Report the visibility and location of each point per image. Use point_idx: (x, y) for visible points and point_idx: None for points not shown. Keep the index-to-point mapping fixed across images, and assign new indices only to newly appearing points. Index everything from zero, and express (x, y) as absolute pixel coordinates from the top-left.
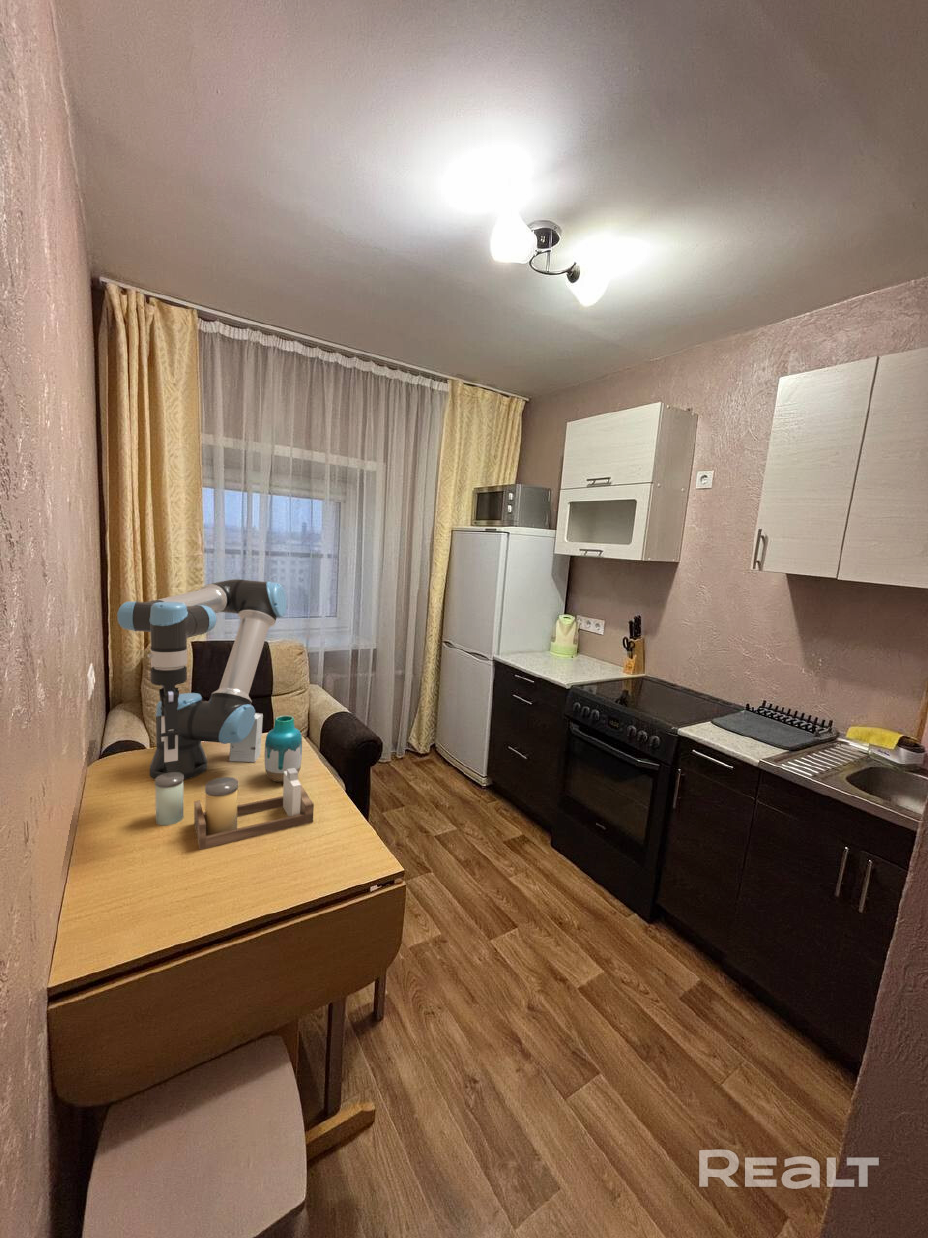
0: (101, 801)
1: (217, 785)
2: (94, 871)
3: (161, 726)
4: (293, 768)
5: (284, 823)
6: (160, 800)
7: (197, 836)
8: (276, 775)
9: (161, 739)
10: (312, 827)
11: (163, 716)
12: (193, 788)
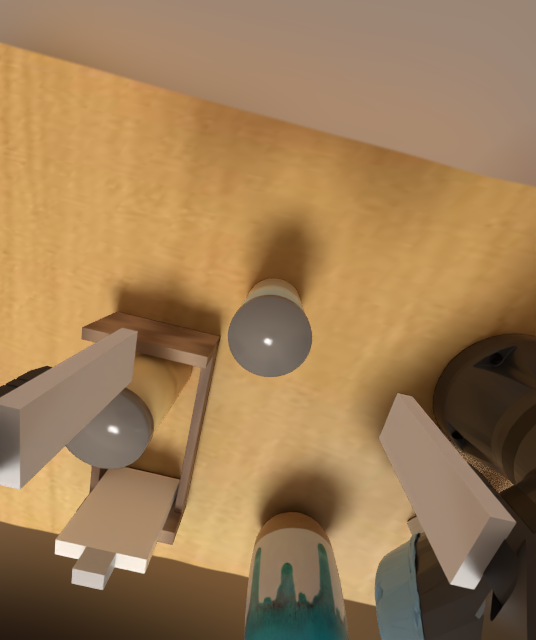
0: (473, 204)
1: (99, 419)
2: (152, 123)
3: (441, 452)
4: (99, 586)
5: None
6: (253, 293)
7: (157, 323)
8: (267, 528)
9: (404, 399)
10: (84, 480)
11: (497, 532)
12: (379, 387)
